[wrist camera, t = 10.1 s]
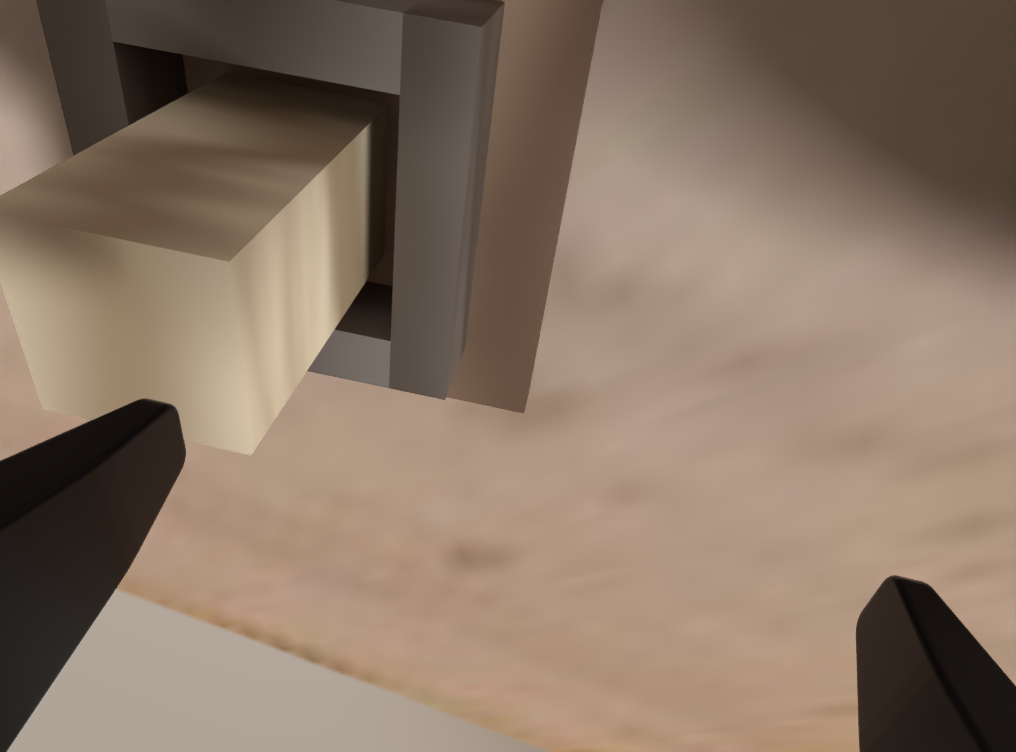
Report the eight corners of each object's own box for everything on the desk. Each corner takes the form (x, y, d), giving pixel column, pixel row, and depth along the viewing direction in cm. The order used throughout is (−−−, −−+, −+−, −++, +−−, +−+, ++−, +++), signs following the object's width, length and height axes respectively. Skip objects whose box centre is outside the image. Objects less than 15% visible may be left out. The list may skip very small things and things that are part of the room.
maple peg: (389, 103, 17) (229, 261, 11) (383, 254, 20) (251, 455, 13) (226, 72, 17) (-25, 209, 11) (240, 225, 20) (42, 409, 13)
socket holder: (621, -97, 15) (611, -81, 12) (528, 393, 23) (510, 470, 20) (22, -198, 16) (-115, -205, 13) (133, 311, 24) (63, 374, 21)
